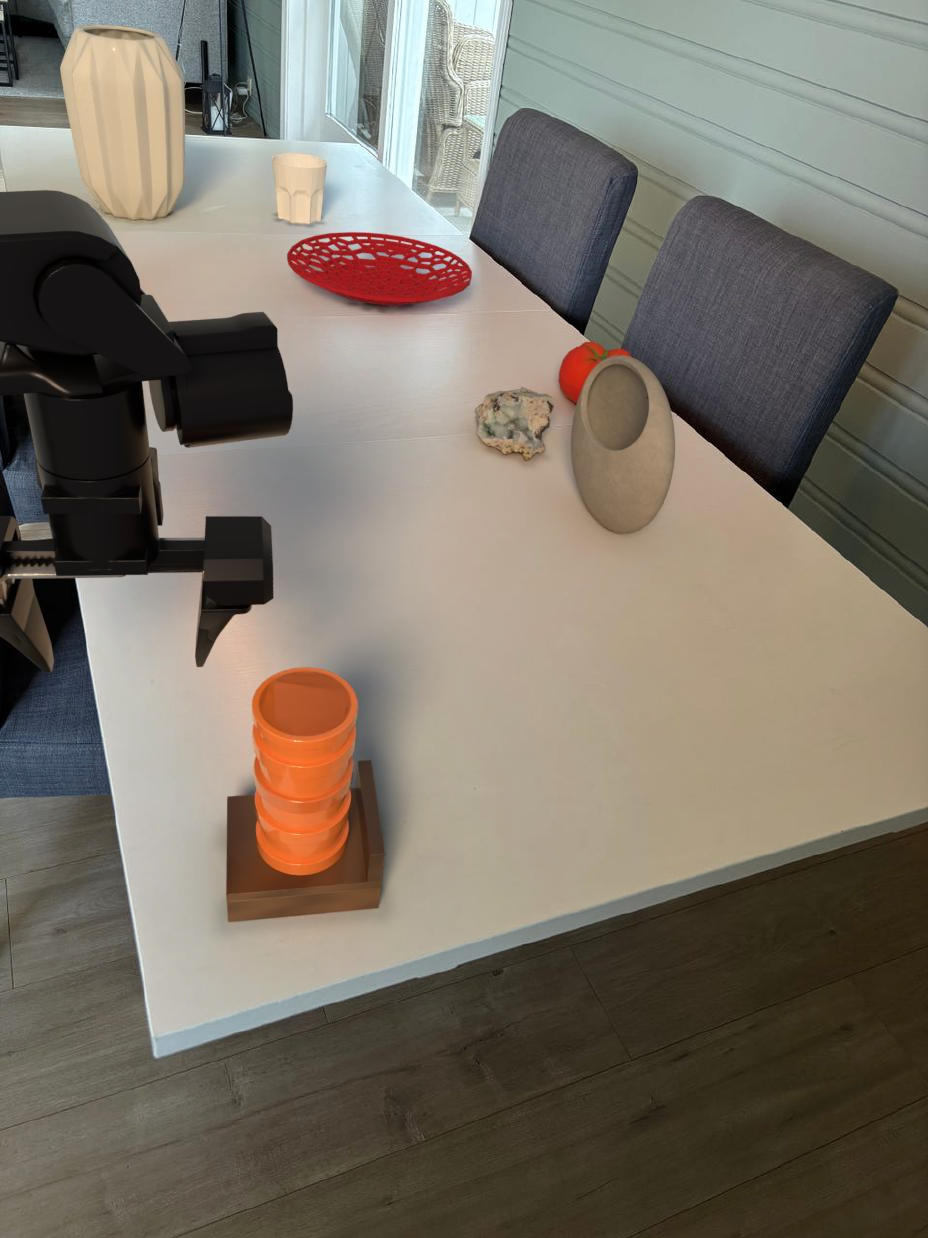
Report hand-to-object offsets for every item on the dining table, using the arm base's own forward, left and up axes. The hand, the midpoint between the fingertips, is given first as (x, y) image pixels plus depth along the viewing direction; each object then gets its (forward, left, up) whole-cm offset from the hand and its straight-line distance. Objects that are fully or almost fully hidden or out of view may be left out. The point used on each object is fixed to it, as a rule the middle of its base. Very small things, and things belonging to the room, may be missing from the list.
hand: (126, 665), depth 59 cm
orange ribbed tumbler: (+11, -7, -10) cm, 16 cm away
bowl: (+29, +101, -13) cm, 106 cm away
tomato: (+55, +65, -13) cm, 86 cm away
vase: (-11, +135, -13) cm, 136 cm away
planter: (+47, +36, -13) cm, 61 cm away
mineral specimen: (+40, +54, -13) cm, 69 cm away
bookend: (+11, -7, -13) cm, 19 cm away
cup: (+18, +138, -13) cm, 140 cm away
